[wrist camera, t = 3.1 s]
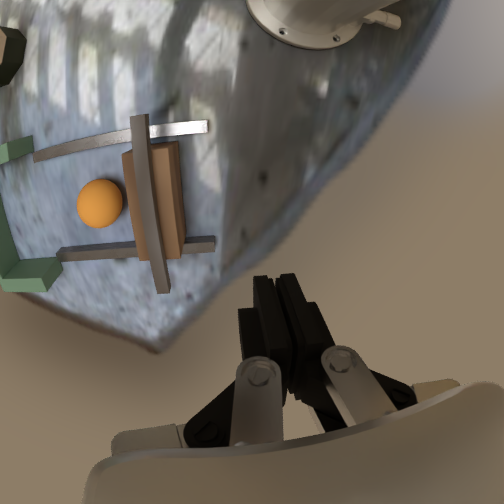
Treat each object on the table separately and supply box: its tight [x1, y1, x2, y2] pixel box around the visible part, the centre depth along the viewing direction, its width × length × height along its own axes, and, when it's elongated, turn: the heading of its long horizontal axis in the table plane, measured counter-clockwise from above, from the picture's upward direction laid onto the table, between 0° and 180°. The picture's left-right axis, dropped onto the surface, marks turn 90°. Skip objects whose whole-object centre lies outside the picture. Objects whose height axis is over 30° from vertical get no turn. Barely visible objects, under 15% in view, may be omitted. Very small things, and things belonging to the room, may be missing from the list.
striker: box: [122, 114, 186, 294], centre depth 24 cm, size 4×16×7 cm, turn 1°
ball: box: [77, 179, 123, 228], centre depth 25 cm, size 5×5×5 cm
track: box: [33, 120, 215, 262], centre depth 26 cm, size 20×14×2 cm
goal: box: [0, 135, 63, 292], centre depth 23 cm, size 9×18×5 cm, turn 1°
